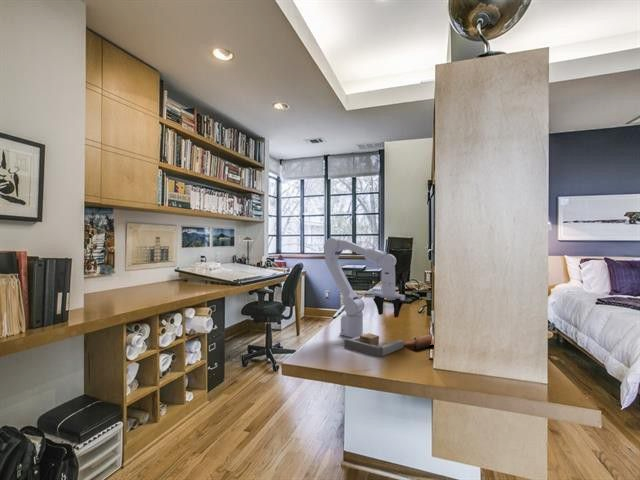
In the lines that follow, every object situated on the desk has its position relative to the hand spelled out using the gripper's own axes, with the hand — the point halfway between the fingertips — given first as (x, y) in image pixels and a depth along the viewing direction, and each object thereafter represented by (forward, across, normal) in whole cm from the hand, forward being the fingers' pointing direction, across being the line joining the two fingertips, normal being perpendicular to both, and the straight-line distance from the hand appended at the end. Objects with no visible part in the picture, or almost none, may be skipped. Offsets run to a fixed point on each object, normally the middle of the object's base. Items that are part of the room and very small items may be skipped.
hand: (388, 315), depth 132 cm
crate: (+10, +2, -16) cm, 19 cm away
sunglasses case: (+11, +13, +3) cm, 17 cm away
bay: (+10, +2, -12) cm, 16 cm away
